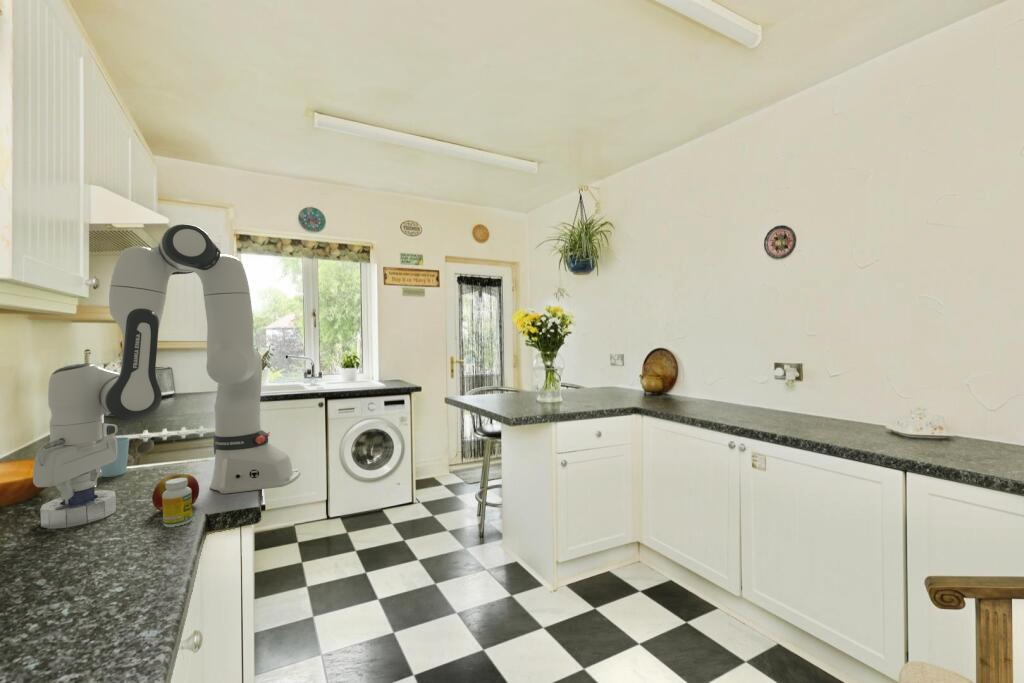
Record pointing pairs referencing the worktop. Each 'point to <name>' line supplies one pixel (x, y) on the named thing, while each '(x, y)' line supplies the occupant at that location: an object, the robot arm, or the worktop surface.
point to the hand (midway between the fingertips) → (79, 493)
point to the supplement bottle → (177, 503)
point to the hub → (77, 511)
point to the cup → (118, 460)
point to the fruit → (161, 489)
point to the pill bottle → (81, 490)
